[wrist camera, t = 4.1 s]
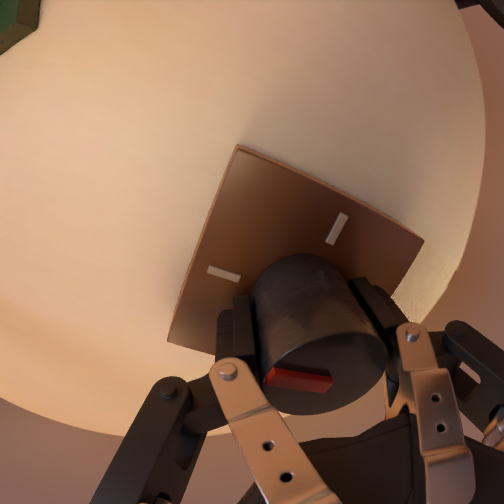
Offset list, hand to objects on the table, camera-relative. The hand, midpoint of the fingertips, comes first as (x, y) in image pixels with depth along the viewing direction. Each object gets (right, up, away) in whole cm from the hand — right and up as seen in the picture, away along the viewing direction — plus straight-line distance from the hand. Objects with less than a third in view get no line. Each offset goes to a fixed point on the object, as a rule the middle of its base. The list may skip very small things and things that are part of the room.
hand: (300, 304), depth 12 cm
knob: (0, 0, 0) cm, 1 cm away
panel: (0, +1, +3) cm, 3 cm away
